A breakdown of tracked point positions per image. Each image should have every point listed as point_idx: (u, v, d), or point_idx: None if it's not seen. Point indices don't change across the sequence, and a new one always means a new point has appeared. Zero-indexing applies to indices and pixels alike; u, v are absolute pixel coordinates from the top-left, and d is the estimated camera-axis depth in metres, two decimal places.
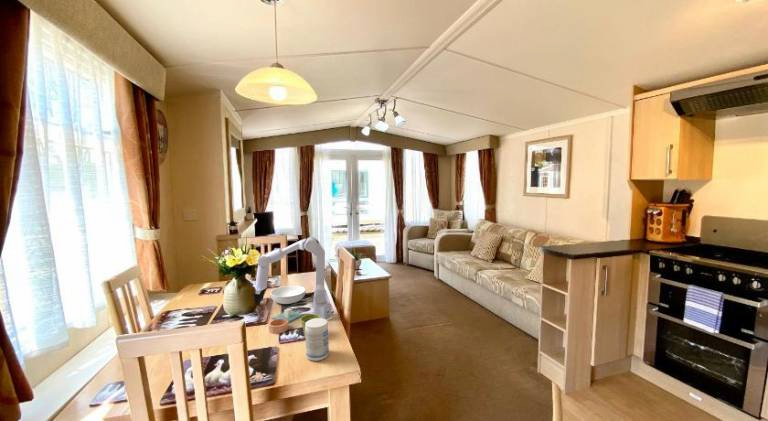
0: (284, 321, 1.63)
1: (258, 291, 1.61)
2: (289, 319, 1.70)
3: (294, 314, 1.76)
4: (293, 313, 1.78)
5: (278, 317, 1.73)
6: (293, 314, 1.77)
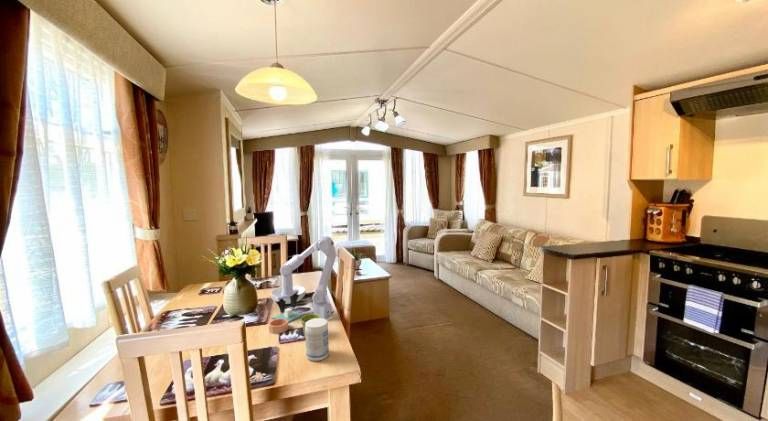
0: (284, 321, 1.63)
1: (277, 298, 1.67)
2: (289, 319, 1.70)
3: (294, 314, 1.76)
4: (293, 313, 1.78)
5: (278, 317, 1.73)
6: (293, 314, 1.77)
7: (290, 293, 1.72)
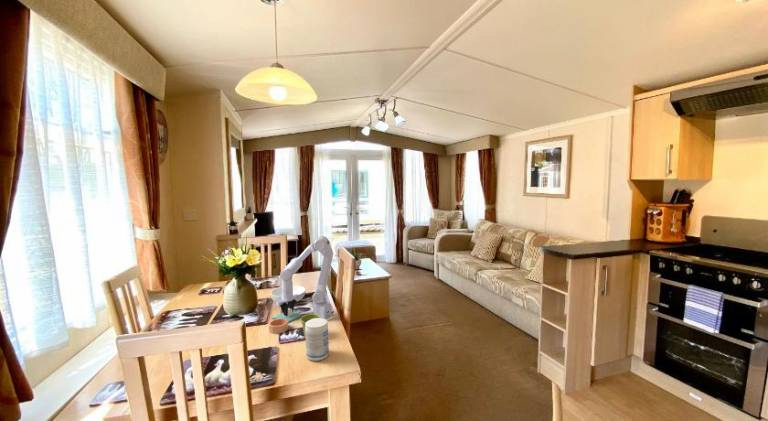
0: (284, 321, 1.63)
1: (277, 303, 1.68)
2: (289, 319, 1.70)
3: (294, 314, 1.76)
4: (293, 313, 1.78)
5: (278, 317, 1.73)
6: (293, 314, 1.77)
7: (290, 298, 1.72)
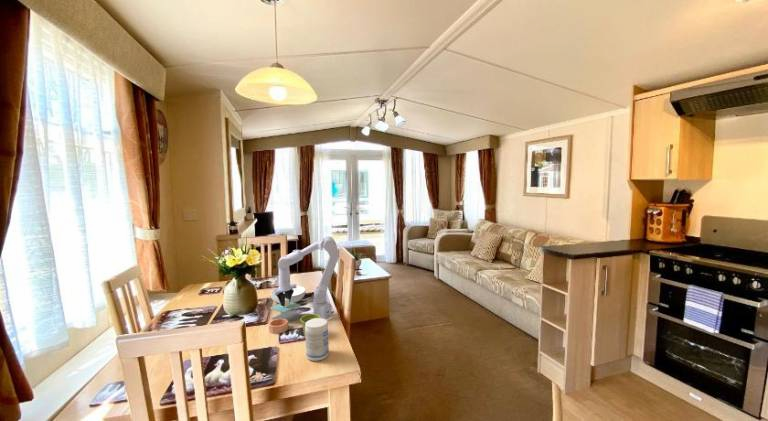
0: (284, 321, 1.63)
1: (274, 293, 1.63)
2: (286, 309, 1.66)
3: (291, 305, 1.72)
4: (290, 304, 1.74)
5: (275, 307, 1.69)
6: (290, 304, 1.72)
7: (287, 287, 1.68)
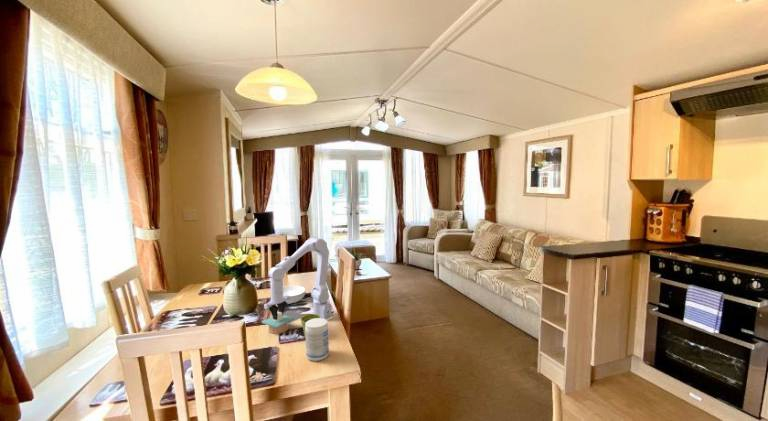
0: None
1: (265, 306, 1.53)
2: (279, 324, 1.55)
3: (285, 318, 1.61)
4: (283, 317, 1.63)
5: (267, 321, 1.58)
6: (283, 318, 1.61)
7: (280, 300, 1.57)
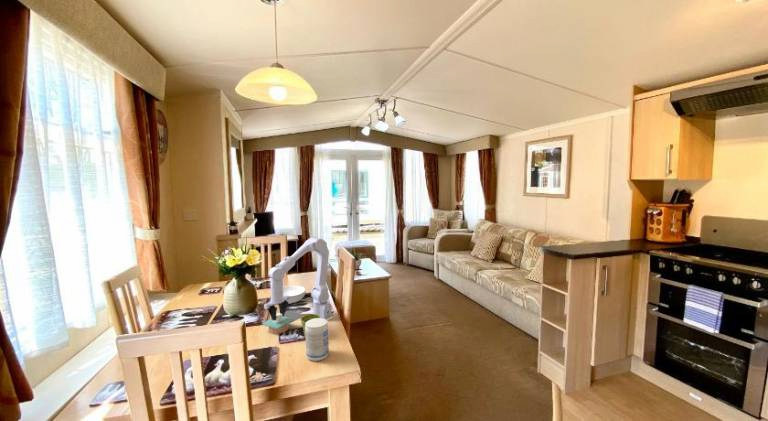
0: None
1: (265, 306, 1.53)
2: (279, 325, 1.55)
3: (285, 320, 1.61)
4: (283, 318, 1.63)
5: (267, 323, 1.58)
6: (283, 319, 1.62)
7: (280, 300, 1.57)
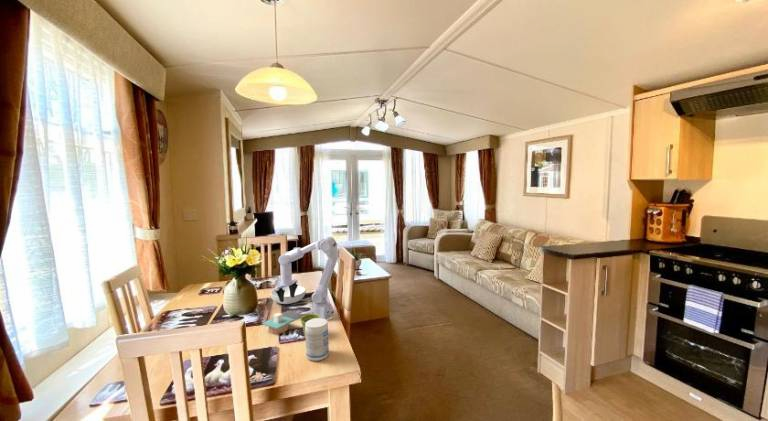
0: None
1: (276, 288, 1.69)
2: (279, 325, 1.55)
3: (285, 320, 1.61)
4: (283, 318, 1.63)
5: (267, 323, 1.58)
6: (283, 319, 1.62)
7: (289, 282, 1.74)
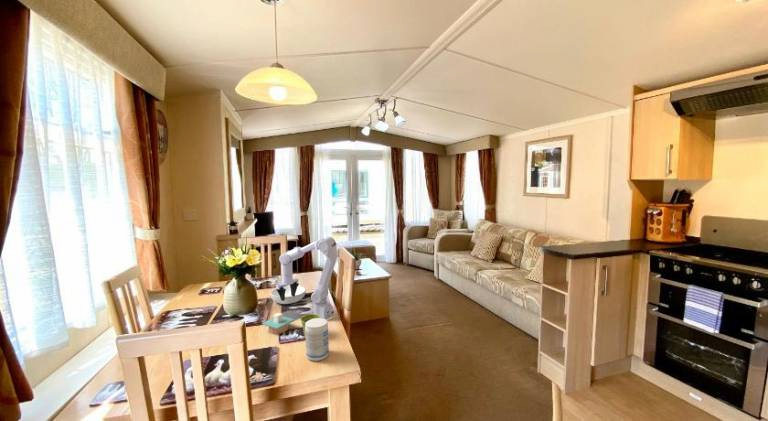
0: None
1: (277, 286, 1.71)
2: (279, 325, 1.55)
3: (285, 320, 1.61)
4: (283, 318, 1.63)
5: (267, 323, 1.58)
6: (283, 319, 1.62)
7: (290, 281, 1.76)
